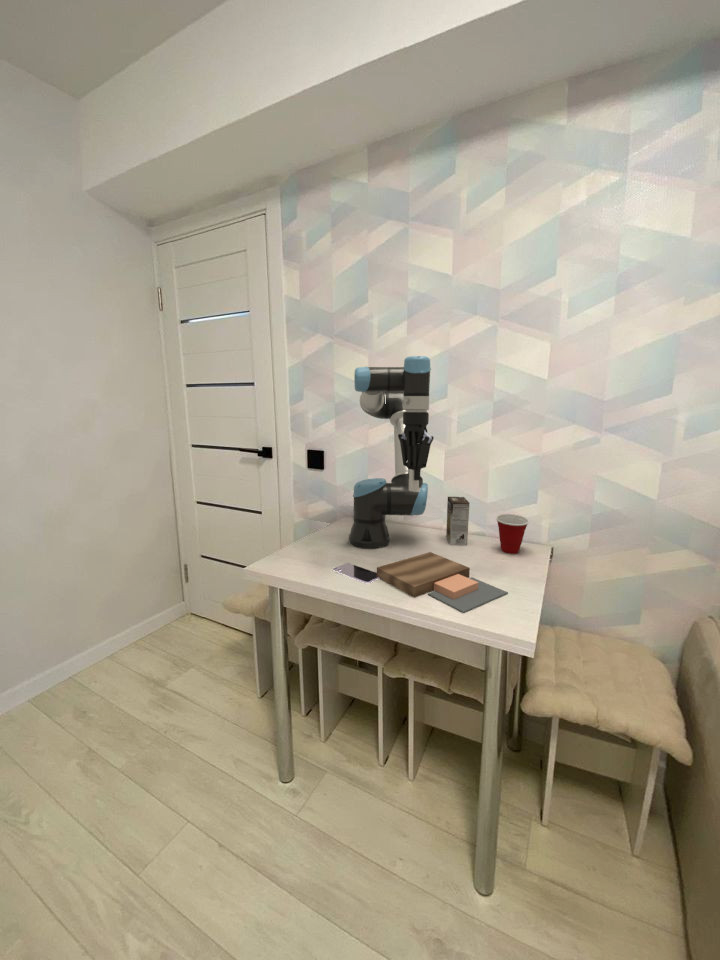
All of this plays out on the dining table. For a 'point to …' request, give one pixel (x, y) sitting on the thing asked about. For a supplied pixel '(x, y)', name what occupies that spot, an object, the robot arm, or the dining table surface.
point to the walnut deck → (420, 573)
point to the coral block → (455, 586)
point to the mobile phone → (357, 572)
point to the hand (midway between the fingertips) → (413, 490)
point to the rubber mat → (471, 597)
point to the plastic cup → (511, 531)
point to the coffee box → (457, 520)
